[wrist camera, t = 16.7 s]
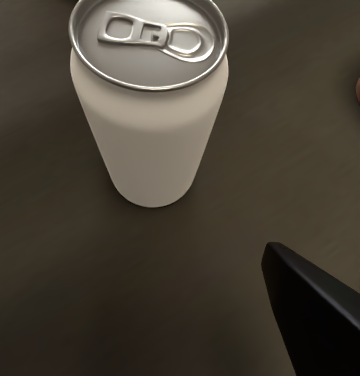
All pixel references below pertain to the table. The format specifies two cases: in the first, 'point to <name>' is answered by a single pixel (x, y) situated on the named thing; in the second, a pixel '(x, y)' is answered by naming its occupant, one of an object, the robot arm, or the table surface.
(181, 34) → the can
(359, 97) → the food container
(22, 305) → the table surface
